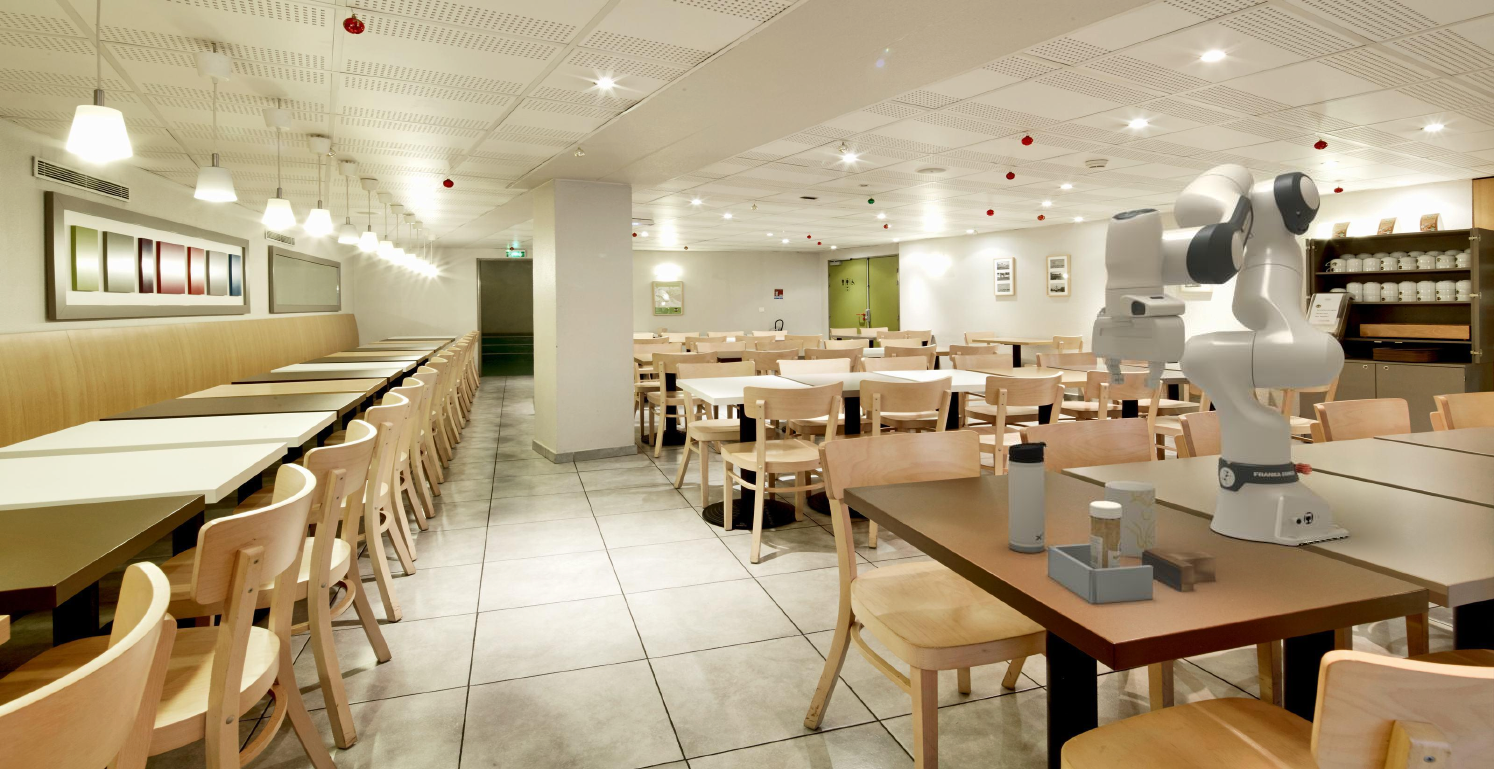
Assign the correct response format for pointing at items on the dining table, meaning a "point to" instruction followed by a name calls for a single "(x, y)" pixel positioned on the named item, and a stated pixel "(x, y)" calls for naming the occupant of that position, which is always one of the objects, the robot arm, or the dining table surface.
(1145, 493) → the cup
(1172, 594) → the dining table surface
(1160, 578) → the scraper
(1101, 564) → the sprinkles bottle
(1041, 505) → the travel mug
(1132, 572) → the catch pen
